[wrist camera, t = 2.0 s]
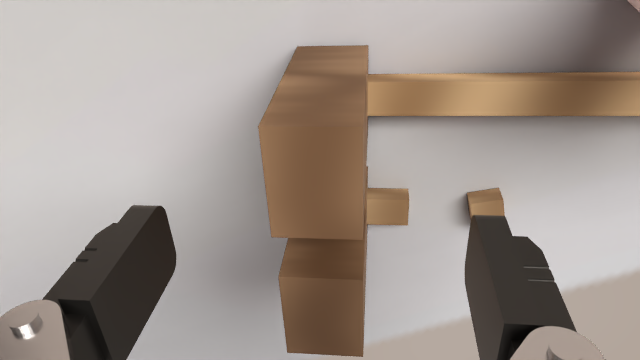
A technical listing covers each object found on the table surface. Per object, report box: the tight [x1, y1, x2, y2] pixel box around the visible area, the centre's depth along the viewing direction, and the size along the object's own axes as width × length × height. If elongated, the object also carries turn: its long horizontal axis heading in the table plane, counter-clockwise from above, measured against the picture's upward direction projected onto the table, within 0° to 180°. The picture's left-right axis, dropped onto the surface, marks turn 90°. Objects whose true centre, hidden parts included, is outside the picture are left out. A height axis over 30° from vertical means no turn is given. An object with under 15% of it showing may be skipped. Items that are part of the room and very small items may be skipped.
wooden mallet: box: [258, 45, 640, 240], centre depth 16 cm, size 20×10×8 cm, turn 92°
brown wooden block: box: [279, 166, 505, 357], centre depth 21 cm, size 10×4×8 cm, turn 92°
